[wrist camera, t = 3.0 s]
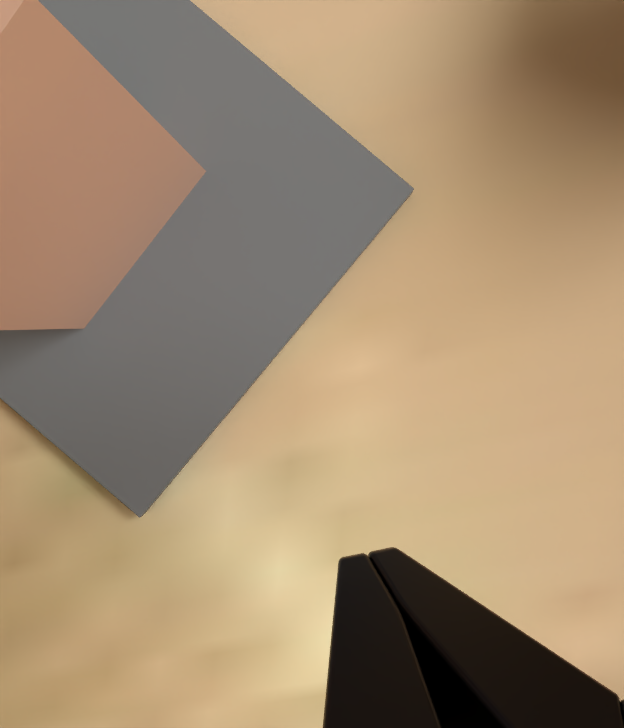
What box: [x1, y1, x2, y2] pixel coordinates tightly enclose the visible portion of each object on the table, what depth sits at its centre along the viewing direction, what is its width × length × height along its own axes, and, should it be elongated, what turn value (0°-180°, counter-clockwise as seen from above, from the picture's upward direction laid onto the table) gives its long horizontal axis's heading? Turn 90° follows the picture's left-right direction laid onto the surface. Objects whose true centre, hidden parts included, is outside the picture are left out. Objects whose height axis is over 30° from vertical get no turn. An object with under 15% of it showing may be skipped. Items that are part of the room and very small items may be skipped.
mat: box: [0, 0, 414, 517], centre depth 19 cm, size 20×15×1 cm
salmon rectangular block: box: [0, 0, 206, 330], centre depth 14 cm, size 3×7×10 cm, turn 140°
